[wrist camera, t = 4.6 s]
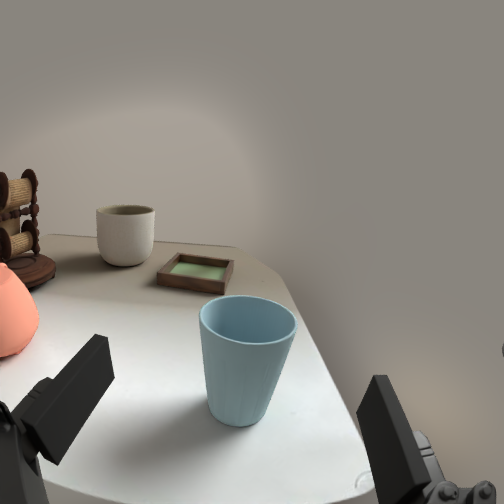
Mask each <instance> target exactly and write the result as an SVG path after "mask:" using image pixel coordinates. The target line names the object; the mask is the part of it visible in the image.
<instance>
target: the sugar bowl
mask: <svg viewBox="0 0 504 504" xmlns="http://www.w3.org/2000/svg"><path fill="white" fill-rule="evenodd" d="M38 324H39V314H38V310H37V307H36V305H35V302H34V300H33V298H32V296H31V294H30V293H29V291H28V289H27V288H26V287H25V285H24V284H23V283H22V282H21V280H20V279H19V278H18V277H17V276H16V274H15V273H14V272H13V271H12V270H10V269H9V268H8V267H7V265H6V264H5V263H0V357H4V356H8V355H11V354H18V353H20V352H21V351H22V348H24V347H25V346H26V345H27V344H28V343H29V342H30V341H31V339H32V337H33V336H34V334H35V332H36V330H37V327H38Z"/></svg>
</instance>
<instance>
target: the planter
mask: <svg viewBox="0 0 504 504" xmlns="http://www.w3.org/2000/svg"><path fill="white" fill-rule="evenodd" d="M96 216H97V242H98V248H99V252H100V254H101V256H102V258H103V259H104V260H105V261H106V262H108V263H110V264H112V265H116V266H133V265H137V264H140V263H142V262H144V261H145V260H146V259H147V258H148V257H149V255H150V253H151V251H152V247H153V238H154V218H155V210H154V209H153V208H150V207H146V206H139V205H113V206H106V207H102V208H99V209H97V215H96Z"/></svg>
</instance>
